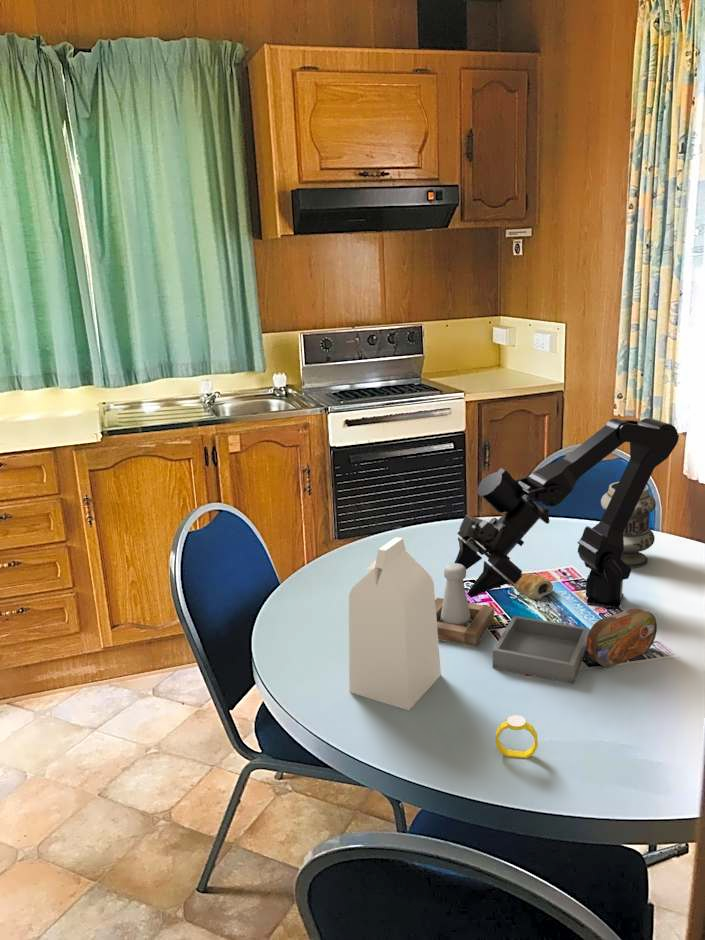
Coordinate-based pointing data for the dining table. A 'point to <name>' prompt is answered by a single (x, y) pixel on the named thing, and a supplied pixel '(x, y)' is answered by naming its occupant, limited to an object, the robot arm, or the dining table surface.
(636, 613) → the tin
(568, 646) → the bin
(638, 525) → the apothecary jar
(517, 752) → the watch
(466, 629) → the brown flat square frame
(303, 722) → the dining table surface
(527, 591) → the pastry
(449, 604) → the salt shaker
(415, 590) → the milk
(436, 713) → the dining table surface
